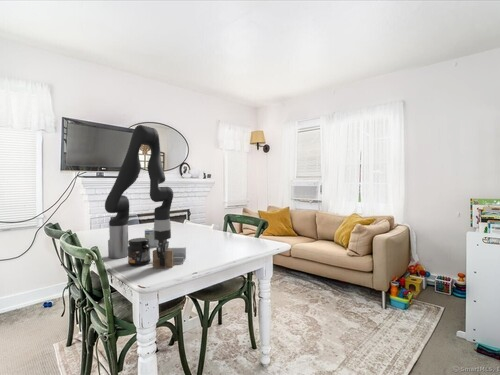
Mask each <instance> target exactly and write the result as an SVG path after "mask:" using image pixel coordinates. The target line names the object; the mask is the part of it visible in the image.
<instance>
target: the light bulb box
mask: <svg viewBox="0 0 500 375" xmlns="http://www.w3.org/2000/svg"><path fill="white" fill-rule="evenodd" d="M144 238H148V239H149V244H150V248H152V247H153V248H154V247H155V248H157V247H158V242H159V241H158V240H155V239H154V227H153V228H145V229H144Z"/></svg>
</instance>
